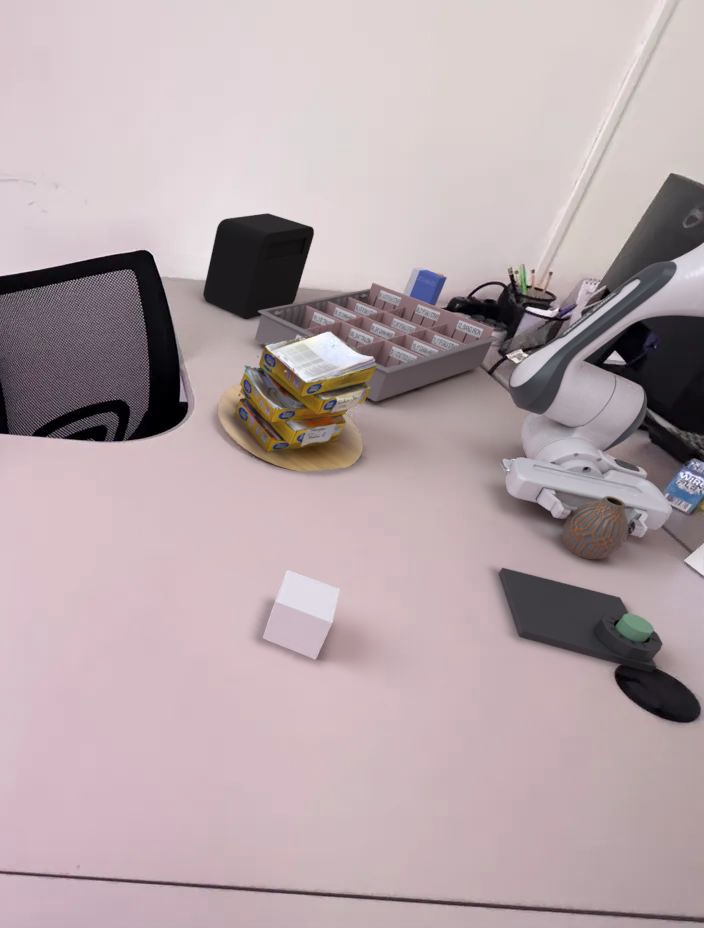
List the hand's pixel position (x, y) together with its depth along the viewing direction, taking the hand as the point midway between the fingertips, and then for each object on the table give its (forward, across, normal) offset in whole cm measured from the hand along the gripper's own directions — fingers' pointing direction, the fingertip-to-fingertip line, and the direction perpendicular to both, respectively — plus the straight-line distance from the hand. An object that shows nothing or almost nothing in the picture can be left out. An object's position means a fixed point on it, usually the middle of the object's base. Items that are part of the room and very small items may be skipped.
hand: (600, 523), depth 93 cm
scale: (+17, -6, +5) cm, 19 cm away
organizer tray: (-57, -27, +5) cm, 63 cm away
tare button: (+20, -2, +2) cm, 20 cm away
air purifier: (-78, -55, +5) cm, 96 cm away
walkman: (-92, -14, +5) cm, 93 cm away
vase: (0, 0, +5) cm, 5 cm away
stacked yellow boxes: (-15, -42, +5) cm, 45 cm away
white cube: (+33, -39, +5) cm, 51 cm away
